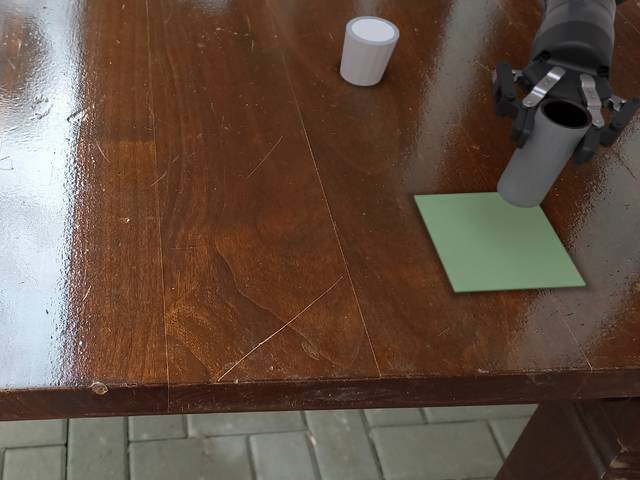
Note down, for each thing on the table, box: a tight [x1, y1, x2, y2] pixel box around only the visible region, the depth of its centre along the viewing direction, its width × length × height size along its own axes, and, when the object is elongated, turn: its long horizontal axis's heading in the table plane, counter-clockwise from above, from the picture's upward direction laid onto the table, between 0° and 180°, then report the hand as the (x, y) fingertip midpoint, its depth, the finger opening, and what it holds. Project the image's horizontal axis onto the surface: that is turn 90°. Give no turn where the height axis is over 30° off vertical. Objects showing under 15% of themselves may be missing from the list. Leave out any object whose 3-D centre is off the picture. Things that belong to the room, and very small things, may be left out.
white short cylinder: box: [339, 15, 400, 87], centre depth 93 cm, size 7×7×7 cm
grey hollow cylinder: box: [496, 97, 593, 208], centre depth 67 cm, size 4×4×10 cm
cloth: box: [413, 191, 586, 294], centre depth 76 cm, size 14×14×1 cm
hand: (551, 149), depth 63 cm, fingers closed on grey hollow cylinder, 4 cm apart
